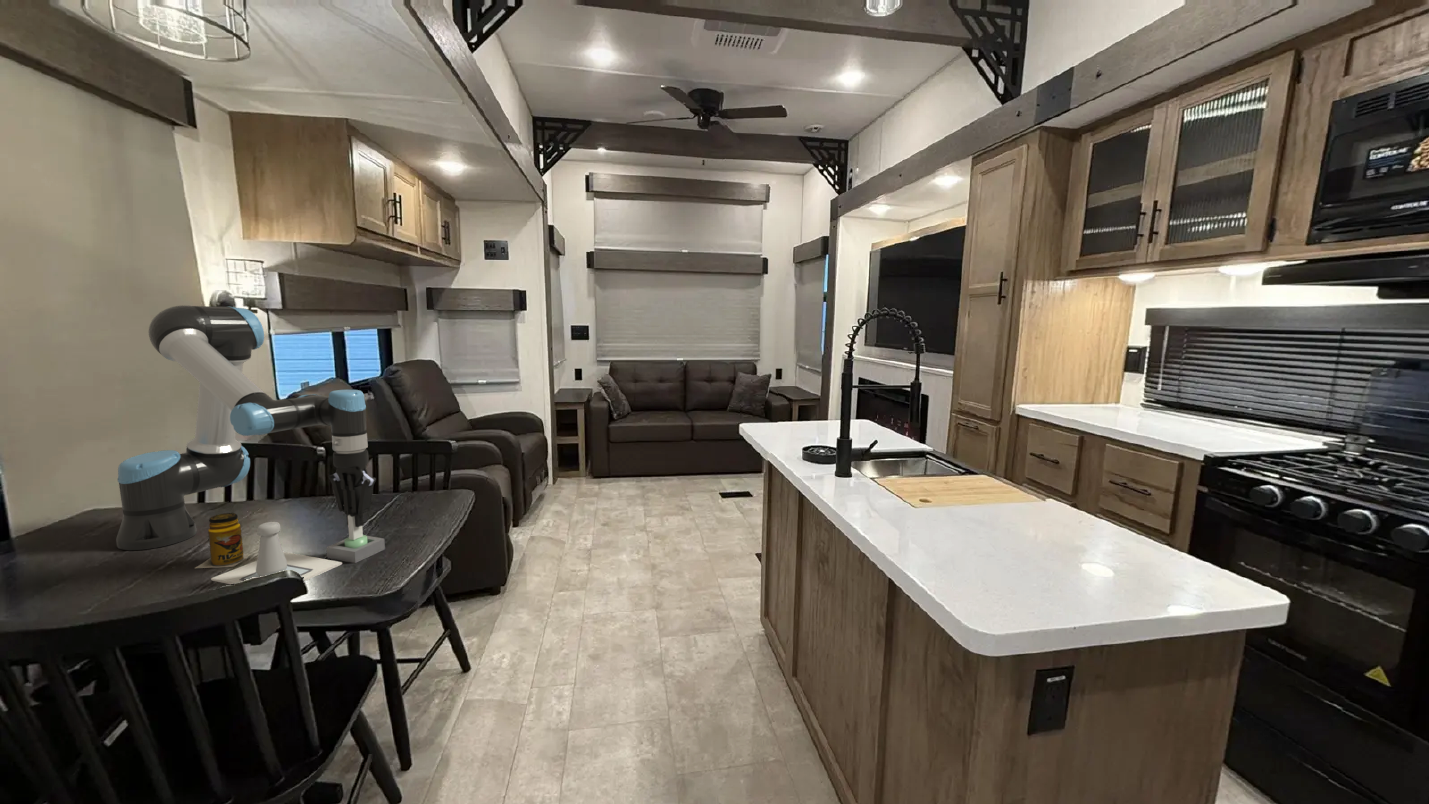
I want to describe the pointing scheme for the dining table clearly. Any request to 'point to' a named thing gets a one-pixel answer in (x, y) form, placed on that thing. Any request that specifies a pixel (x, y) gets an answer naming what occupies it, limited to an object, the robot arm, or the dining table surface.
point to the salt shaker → (270, 550)
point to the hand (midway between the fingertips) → (356, 537)
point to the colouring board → (296, 562)
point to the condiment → (224, 542)
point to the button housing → (355, 550)
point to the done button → (356, 542)
